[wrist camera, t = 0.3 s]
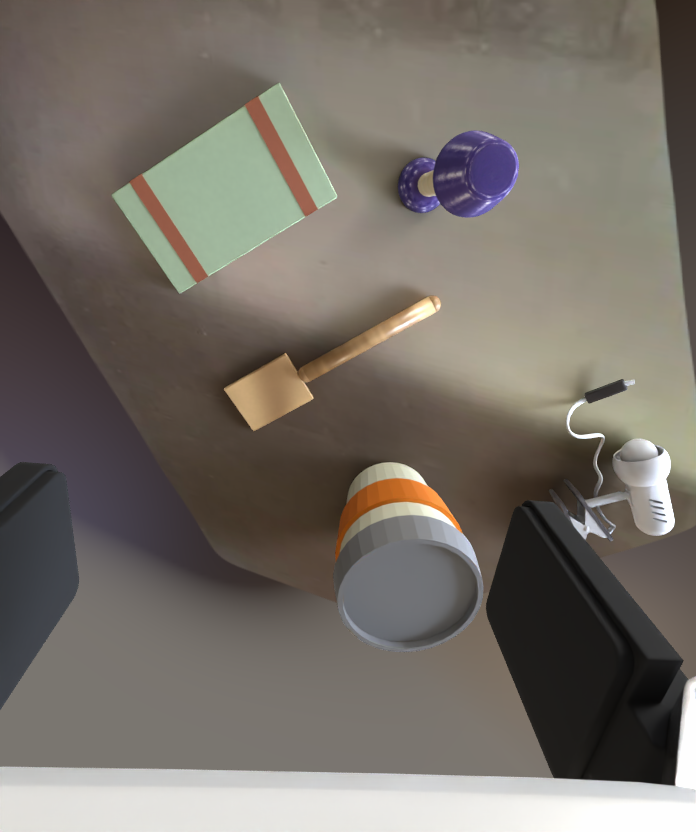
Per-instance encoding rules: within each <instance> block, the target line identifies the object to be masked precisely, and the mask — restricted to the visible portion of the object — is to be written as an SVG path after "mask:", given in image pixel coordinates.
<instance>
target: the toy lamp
mask: <svg viewBox="0 0 696 832" xmlns="http://www.w3.org/2000/svg"><path fill="white" fill-rule="evenodd" d="M518 169H519V163H518V158H517V155H516V152H515V151H514V149H513V148H512V146H511V145H510V144H509V143H507V142H506V141H504V140H502V139H500V138H498V137H497V136H494V135H492V134H490V133H487V132H483V131H469V132H465V133H462V134H459V135H457V136H456V137H454V138H453V139H451V140H450V141H449V142H448V143H447V144H446V145H445V146H444V148H443V149H442V150H441V152H440V154H439V155H438V157H437V159H436V161H435V160H433V159H430V158H424V157H423V158H417V159H415V160H413V161H411V162H409V163H408V164H407V165H406V166H405V168H404V169H403V171H402V172H401V175H400V177H399V181H398V193H399V196H400V199H401V201H402V202H403V204H404V205H405V206H406V207H407V208H408V209H410V210H411V211H414V212H417V213H425V212H429V211H431V210H433V209H435V208H436V207H437V206H438V205H439V204H441V205H442V206H443V207H444V208H445V209H446V210H447V211H448V212H450V213H452V214H453V215H456V216H459V217H476V216H479V215H482V214H484V213H486V212H488V211H489V210H491V209H492V208H493V207H494V206H495V205H497V204H498V203H499V202H500V201H501V200H502V199H503V198H504V197H505V196H506V195H507V194H508V193H509V192H510V190H511V189H512V187H513V186H514V184H515V181H516V179H517V176H518Z"/></svg>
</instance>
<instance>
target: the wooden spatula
mask: <svg viewBox="0 0 696 832" xmlns="http://www.w3.org/2000/svg"><path fill="white" fill-rule="evenodd" d="M440 306H441V302H440V300H439V298H438V297H436V296H428V297H426V298H425V299H423V300H421V301H419V302H417V303H416V304H414V305H412V306H410V307H408V308H407V309H405V310H403V311H401V312H399V313H398V314H396V315H394V316H392V317H391V318H389V319H387V320H385V321H383V322H382V323H380V324H378V325H376V326H374V327H373V328H371V329H369V330H367V331H365V332H364V333H362V334H360V335H358V336H356V337H355V338H353V339H351V340H349V341H347V342H346V343H344V344H342V345H340V346H338V347H337V348H335V349H333V350H331V351H329V352H328V353H326V354H324V355H322V356H320V357H319V358H317V359H315V360H313V361H311V362H310V363H308V364H306V365H304V366H303V367H301V368H300V369H299V372H297V370H296V368H295V367H294V365H293V364H292V362H291V361H290V359H289V357H288V356H287V354H286V353H285V354H283V355H281V356H279V357H278V358H276V359H274V360H272V361H271V362H269V363H267V364H265V365H264V366H262V367H260V368H258V369H256V370H255V371H253V372H251V373H249V374H248V375H246V376H244V377H242V378H241V379H239V380H237V381H235V382H233V383H232V384H230V385H228V386H226V387H225V389H224V390H225V392H226V393H227V395H228V396H229V397H230V399H231V400H232V402H233V403H234V404H235V406H236V407H237V409H238V410H239V411H240V413H241V414H242V416H243V417H244V418H245V420H246V421H247V423H248V424H249V425H250V427H251V428H252V430H253V431H255V430H257V429H259V428H261V427H262V426H264V425H266V424H268V423H270V422H272V421H273V420H275V419H277V418H279V417H281V416H283V415H285V414H286V413H288V412H290V411H292V410H294V409H296V408H297V407H299V406H301V405H303V404H305V403H307V402H308V401H310V400H312V399H313V395H312V394H311V392H310V391H309V389H308V387H307V386H306V384H305V383H304V382H310V381H312V380H314V379H315V378H317V377H319V376H321V375H323V374H324V373H326V372H328V371H330V370H332V369H334V368H335V367H337V366H339V365H341V364H343V363H344V362H346V361H348V360H350V359H352V358H354V357H355V356H357V355H359V354H361V353H363V352H365V351H366V350H368V349H370V348H372V347H374V346H375V345H377V344H379V343H381V342H383V341H385V340H386V339H388V338H390V337H392V336H394V335H395V334H397V333H399V332H401V331H403V330H405V329H406V328H408V327H410V326H412V325H414V324H415V323H417V322H419V321H421V320H423V319H425V318H426V317H428V316H430V315H432V314H434V313H435V312H437V311H438V310H439V309H440Z"/></svg>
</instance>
